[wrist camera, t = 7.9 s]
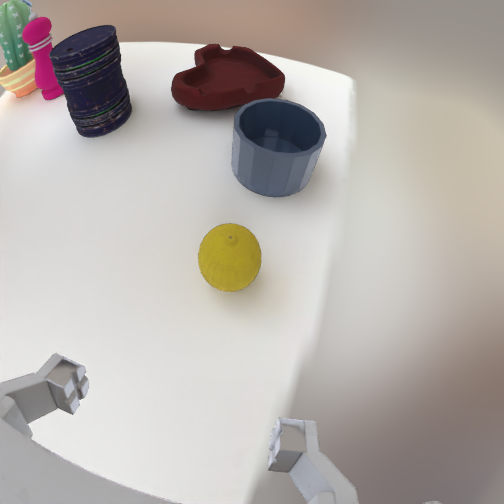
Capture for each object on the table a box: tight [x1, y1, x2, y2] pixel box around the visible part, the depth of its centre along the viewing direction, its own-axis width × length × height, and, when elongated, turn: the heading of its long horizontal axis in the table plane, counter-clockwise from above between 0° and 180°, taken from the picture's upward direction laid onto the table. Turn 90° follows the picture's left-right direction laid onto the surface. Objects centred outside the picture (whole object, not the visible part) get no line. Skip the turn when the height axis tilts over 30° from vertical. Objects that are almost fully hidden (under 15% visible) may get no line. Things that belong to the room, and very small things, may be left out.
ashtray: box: [171, 44, 285, 111], centre depth 40 cm, size 18×16×5 cm
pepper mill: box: [22, 13, 64, 100], centre depth 33 cm, size 7×7×20 cm
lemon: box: [198, 223, 261, 292], centre depth 26 cm, size 6×6×8 cm
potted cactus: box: [0, 0, 38, 97], centre depth 33 cm, size 15×15×25 cm
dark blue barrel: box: [49, 25, 132, 137], centre depth 32 cm, size 10×10×15 cm
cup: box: [232, 98, 326, 197], centre depth 33 cm, size 10×10×7 cm
